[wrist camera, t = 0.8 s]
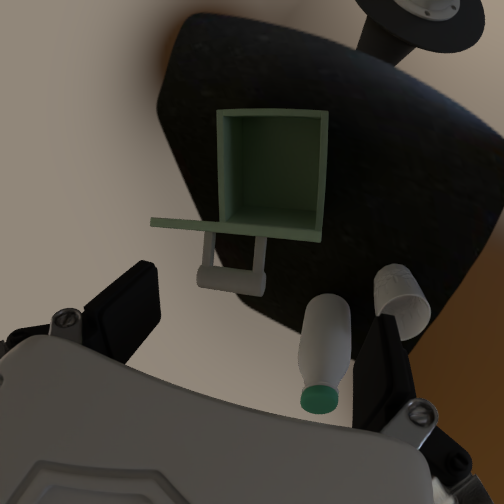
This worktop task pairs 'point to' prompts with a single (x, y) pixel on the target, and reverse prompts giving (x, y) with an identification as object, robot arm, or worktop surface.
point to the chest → (272, 167)
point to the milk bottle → (324, 351)
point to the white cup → (401, 300)
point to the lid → (232, 277)
